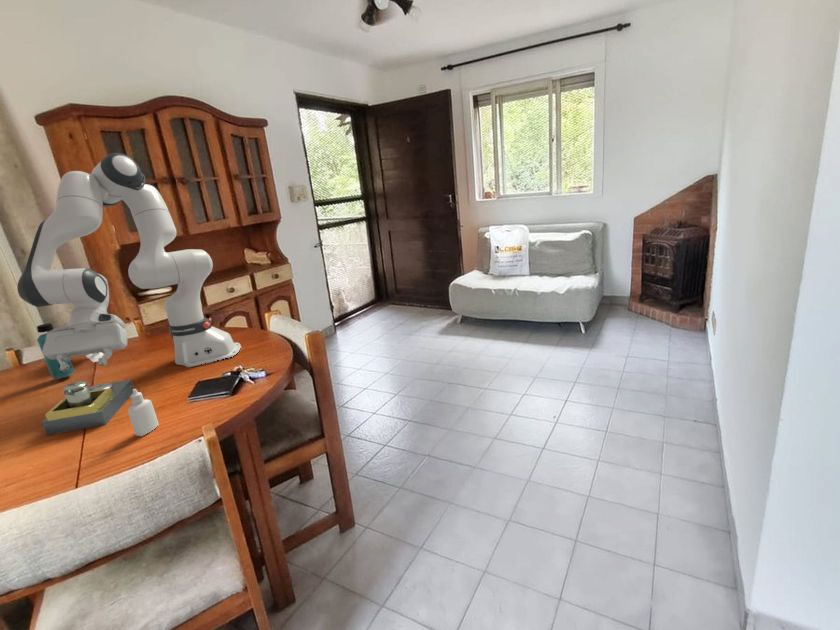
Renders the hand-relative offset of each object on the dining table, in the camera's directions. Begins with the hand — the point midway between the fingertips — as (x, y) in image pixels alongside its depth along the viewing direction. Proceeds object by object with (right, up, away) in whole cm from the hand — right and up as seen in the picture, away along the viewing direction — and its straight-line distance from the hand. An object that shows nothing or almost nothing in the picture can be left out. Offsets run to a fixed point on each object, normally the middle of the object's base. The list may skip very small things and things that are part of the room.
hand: (83, 367), depth 119 cm
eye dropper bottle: (+25, -15, -10) cm, 31 cm away
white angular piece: (-31, -2, +46) cm, 56 cm away
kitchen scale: (+1, -13, +3) cm, 13 cm away
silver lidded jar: (+2, -13, -2) cm, 13 cm away
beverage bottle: (-29, -7, +28) cm, 41 cm away
